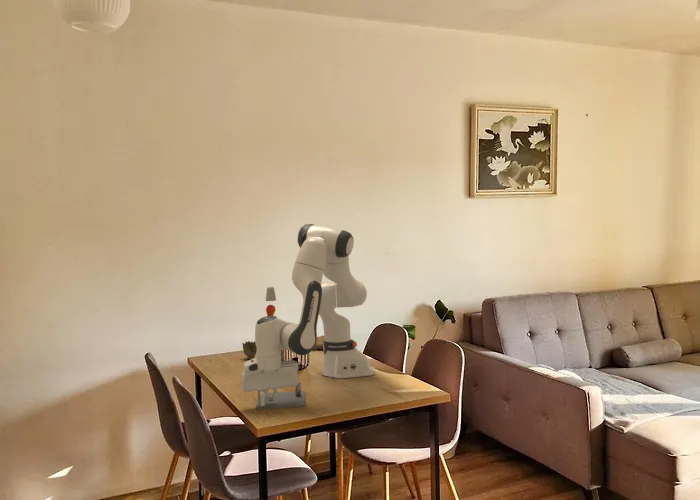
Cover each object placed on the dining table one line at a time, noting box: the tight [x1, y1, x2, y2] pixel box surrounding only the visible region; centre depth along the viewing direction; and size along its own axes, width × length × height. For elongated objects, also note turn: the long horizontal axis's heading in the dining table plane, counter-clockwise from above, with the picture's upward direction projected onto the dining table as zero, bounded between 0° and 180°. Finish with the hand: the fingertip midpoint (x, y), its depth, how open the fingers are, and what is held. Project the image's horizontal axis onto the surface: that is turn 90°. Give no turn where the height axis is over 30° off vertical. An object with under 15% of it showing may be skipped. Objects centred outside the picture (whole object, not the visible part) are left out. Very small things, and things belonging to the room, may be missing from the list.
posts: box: [257, 381, 302, 398], centre depth 229 cm, size 16×2×8 cm, turn 94°
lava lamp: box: [265, 286, 277, 316], centre depth 286 cm, size 9×9×35 cm
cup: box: [241, 340, 257, 360], centre depth 295 cm, size 8×7×8 cm
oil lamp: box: [314, 335, 324, 350], centre depth 313 cm, size 11×15×8 cm
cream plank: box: [260, 390, 265, 406], centre depth 222 cm, size 11×1×5 cm, turn 11°
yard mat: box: [255, 390, 306, 410], centre depth 226 cm, size 17×18×1 cm
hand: (270, 400), depth 221 cm, fingers closed
